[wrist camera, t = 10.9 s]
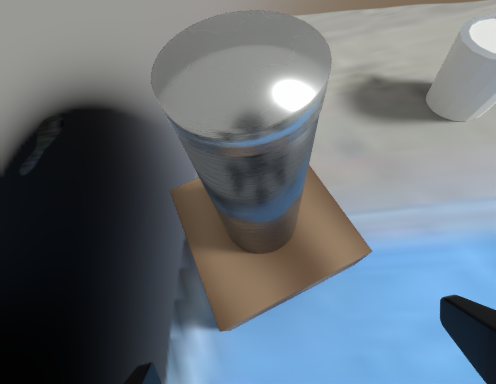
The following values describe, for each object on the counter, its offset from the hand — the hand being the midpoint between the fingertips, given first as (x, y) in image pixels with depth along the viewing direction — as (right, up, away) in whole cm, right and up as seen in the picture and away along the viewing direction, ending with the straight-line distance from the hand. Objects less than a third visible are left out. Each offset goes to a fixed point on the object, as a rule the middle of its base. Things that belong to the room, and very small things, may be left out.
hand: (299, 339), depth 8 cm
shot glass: (+21, +14, +19) cm, 32 cm away
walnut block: (0, +1, +14) cm, 14 cm away
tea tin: (-1, +3, +11) cm, 11 cm away
